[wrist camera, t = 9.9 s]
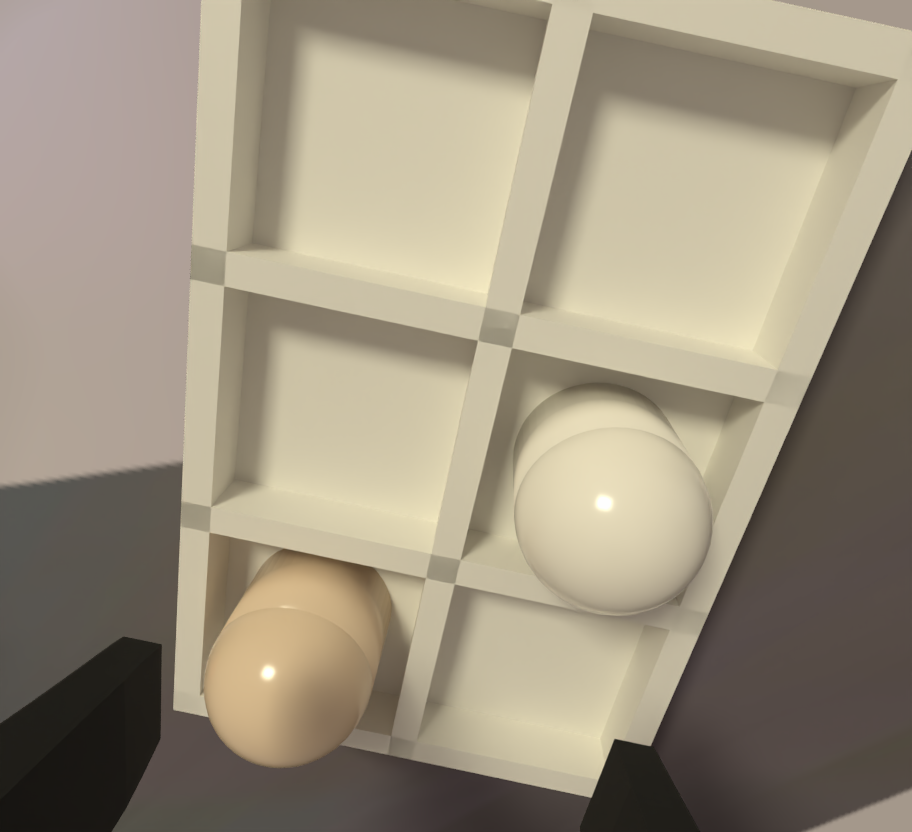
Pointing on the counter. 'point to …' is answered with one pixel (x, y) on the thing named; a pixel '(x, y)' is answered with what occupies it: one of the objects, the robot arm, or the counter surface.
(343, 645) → the egg
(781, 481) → the counter surface
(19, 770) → the robot arm
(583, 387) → the egg
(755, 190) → the egg box
